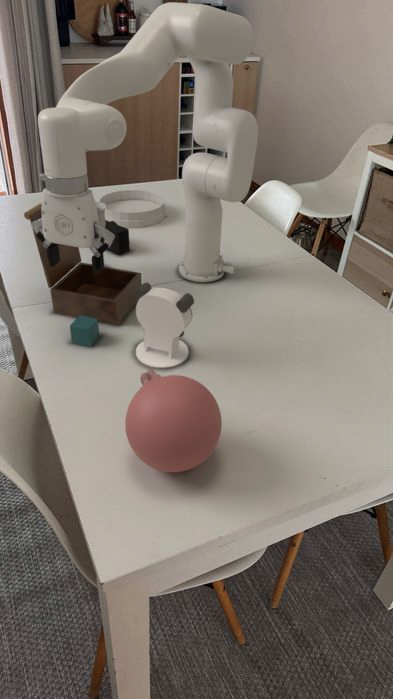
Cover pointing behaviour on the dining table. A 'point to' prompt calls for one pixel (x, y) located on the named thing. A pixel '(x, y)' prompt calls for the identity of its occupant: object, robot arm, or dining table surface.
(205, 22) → the robot arm
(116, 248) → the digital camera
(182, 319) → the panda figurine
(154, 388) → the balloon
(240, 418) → the dining table surface
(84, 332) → the block
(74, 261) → the box lid
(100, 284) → the box
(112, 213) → the dish
